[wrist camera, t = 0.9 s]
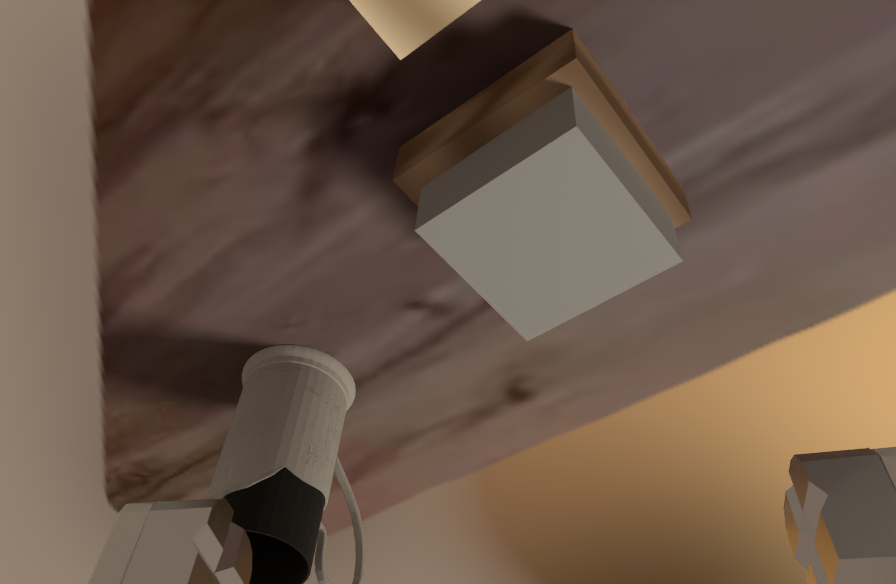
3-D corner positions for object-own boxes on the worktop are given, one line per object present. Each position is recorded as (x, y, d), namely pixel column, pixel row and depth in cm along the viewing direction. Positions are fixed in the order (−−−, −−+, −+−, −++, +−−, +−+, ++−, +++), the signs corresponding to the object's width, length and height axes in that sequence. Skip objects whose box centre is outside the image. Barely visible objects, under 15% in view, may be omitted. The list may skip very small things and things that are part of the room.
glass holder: (302, 327, 57) (251, 507, 46) (421, 435, 64) (402, 614, 53) (218, 372, 61) (151, 549, 50) (339, 470, 68) (305, 643, 57)
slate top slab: (571, 86, 40) (576, 125, 37) (671, 216, 45) (683, 260, 42) (421, 187, 45) (414, 230, 42) (526, 296, 49) (527, 341, 46)
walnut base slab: (571, 24, 42) (576, 57, 39) (680, 180, 48) (692, 219, 45) (399, 143, 47) (392, 180, 44) (516, 270, 53) (517, 310, 50)
